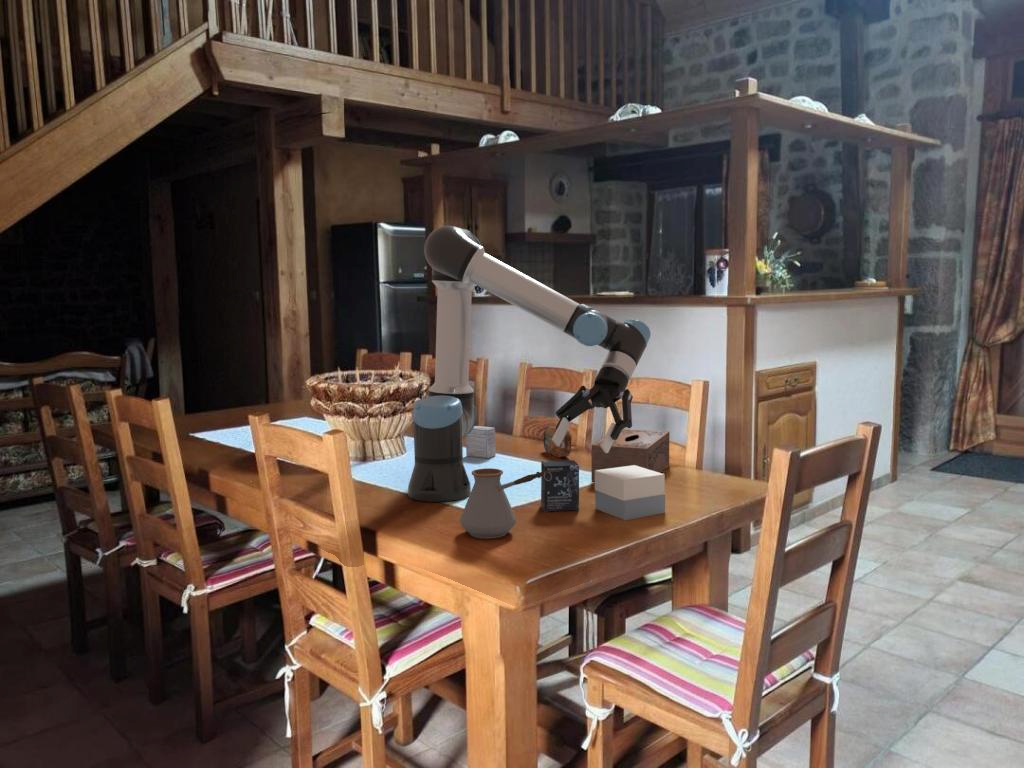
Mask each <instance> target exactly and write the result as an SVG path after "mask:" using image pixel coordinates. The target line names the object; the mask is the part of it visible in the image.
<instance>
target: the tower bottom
mask: <svg viewBox="0 0 1024 768" xmlns="http://www.w3.org/2000/svg"><path fill="white" fill-rule="evenodd" d="M594 491H595V496H594V497H595V498H594V499H595V500H594V501H595V504H594V507H595V510H598V511H601V512H602V513H605V514H608V515H611V516H613V517H615V518H619V519H622V520H624V521H627V520H633V519H640V518H643V517H644V518H645V517H650V516H655V515H661V514H665V513H666V493H664V494H663V495H657V496H650V497H644V498H638V499H631V500H625V501H623V500H620V499H618V498H615V497H612V496H610V495H607V494H604V493H602V492H599V491H596V490H595V489H594Z"/></svg>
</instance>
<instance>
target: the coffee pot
mask: <svg viewBox="0 0 1024 768" xmlns="http://www.w3.org/2000/svg"><path fill="white" fill-rule="evenodd" d="M547 473H550V472H548V471H542V472H541V471H536V472H535V473H532V474H527V475H525V476H523V477H520V478H518V479H516V480H513V481H511V482H506V483H504V484H502V483H501V476H502V475H503V474H504V471H503V470H502V469H498V468H489V467H487V468H477V469H474V470H472V471H471V475H472V476H473V479H474V484H473V486H472V487H471V488H472V489H471V493H470V495H469V496H468V498H467V500H466V503H465V506H464V509H463V511H462V513H461V515H460V519H459V523H460V526H461V527H462V528H463V530H465V531H466V533H469V535H470V536H471V537H474V538H476V539H477V538H478V539H497V538H498V539H499V538H502V537H505V536H506V535H507V534H508V532H510V531H511V530H512V528H514V527H515V524H516V521H517V517H516V515H515V512H514V511H513V508H512V506H511V502H510V501H509V499H508V497H507V494H506V492H505V489H508V488H510V487H513V486H518V485H521V484H524V483H528V482H532V481H533V480H535V479H541V476H542V475H544V478H545V475H546V474H547ZM550 475H551V473H550ZM551 479H552V475H551ZM551 479H550V480H551ZM545 480H547V479H546V478H545ZM550 480H547V481H550Z"/></svg>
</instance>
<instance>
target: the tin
mask: <svg viewBox="0 0 1024 768" xmlns="http://www.w3.org/2000/svg"><path fill="white" fill-rule="evenodd" d="M556 426H557V425H556ZM556 426H554V425H552V426H551V425H548V426H546V428H545V429H544V431H543V437H542V439H543V442H542V443H543V447H544V448H543V449H544V450H545V452H546V453H547V454H548V453H549V454H548V455H551V454H552V455H551V456H553V455H554V456H553V457H556V458H558V457H559V458H567V457H568V456H570V454H571V452H572V435H571V433H570V431H569V429H568V430H567V432H566V434H565V436H564V438H563V440H562V442H561V444H560V446H556V445H555V443H554V442H553V441H552V438H553V436H554V434H555V432H556Z"/></svg>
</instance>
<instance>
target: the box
mask: <svg viewBox="0 0 1024 768" xmlns="http://www.w3.org/2000/svg"><path fill="white" fill-rule="evenodd" d="M540 462H541V463H540V464H541V465H540V469H541V471H540V472H542V471H548V472H550V473H551V475H552V479H551V475H550V473H547V474H546V475H545V478H546V479H547V480H550V479H551V480H550V481H547V480H545V478H544V475H542V476H541V477H540V479H541V481H540V486H541V487H540V504H541V508H542V509H543V510H544V512H545V513H547V512H563V511H579V510H580V465H579V464H578V462H577V461H575V460H574V459H570V460H568V459H567V460H541V461H540Z"/></svg>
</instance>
